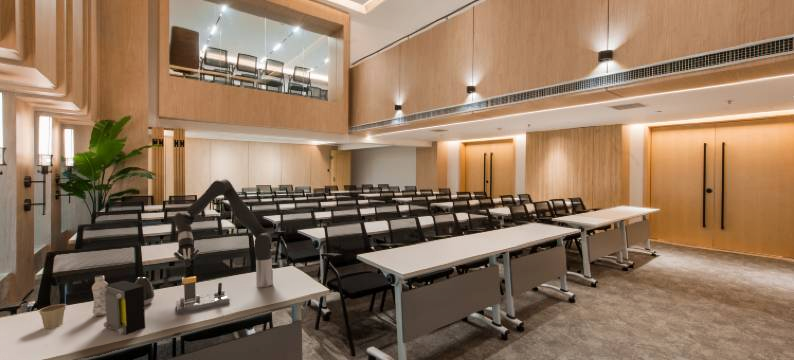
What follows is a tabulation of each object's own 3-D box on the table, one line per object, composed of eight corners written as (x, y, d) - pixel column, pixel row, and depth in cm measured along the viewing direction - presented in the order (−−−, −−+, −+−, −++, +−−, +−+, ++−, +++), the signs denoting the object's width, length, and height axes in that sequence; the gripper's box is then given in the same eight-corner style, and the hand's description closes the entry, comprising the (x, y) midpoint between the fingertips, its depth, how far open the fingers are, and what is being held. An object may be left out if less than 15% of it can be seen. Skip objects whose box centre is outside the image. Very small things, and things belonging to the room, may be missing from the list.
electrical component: (102, 328, 158) (100, 286, 157) (127, 319, 167) (126, 279, 166) (121, 337, 150) (119, 292, 149) (146, 327, 159) (145, 285, 158)
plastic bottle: (90, 318, 168) (89, 279, 167) (95, 313, 174) (93, 275, 173) (107, 316, 171) (105, 277, 170) (111, 311, 177) (109, 273, 176)
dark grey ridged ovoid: (148, 299, 192) (147, 273, 192) (158, 302, 187) (157, 275, 187) (127, 305, 184) (126, 278, 183) (136, 309, 178) (135, 281, 178)
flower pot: (66, 319, 168) (65, 302, 167) (68, 324, 162) (68, 307, 161) (38, 326, 160) (37, 308, 160) (40, 332, 154) (39, 314, 154)
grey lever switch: (225, 295, 196) (225, 276, 196) (229, 303, 185) (229, 282, 184) (176, 306, 183) (175, 284, 182) (177, 315, 171) (176, 292, 171)
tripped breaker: (196, 299, 183) (195, 276, 182) (196, 300, 181) (196, 277, 180) (183, 301, 180) (182, 278, 179) (183, 303, 177) (182, 279, 177)
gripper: (172, 238, 194) (173, 264, 184) (198, 235, 201) (201, 260, 192) (172, 246, 198) (173, 271, 189) (198, 242, 206) (200, 267, 196)
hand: (187, 266), depth 190 cm, fingers closed
